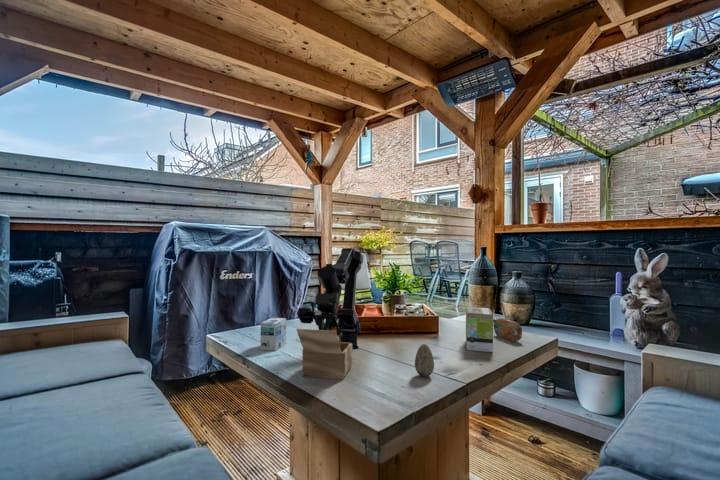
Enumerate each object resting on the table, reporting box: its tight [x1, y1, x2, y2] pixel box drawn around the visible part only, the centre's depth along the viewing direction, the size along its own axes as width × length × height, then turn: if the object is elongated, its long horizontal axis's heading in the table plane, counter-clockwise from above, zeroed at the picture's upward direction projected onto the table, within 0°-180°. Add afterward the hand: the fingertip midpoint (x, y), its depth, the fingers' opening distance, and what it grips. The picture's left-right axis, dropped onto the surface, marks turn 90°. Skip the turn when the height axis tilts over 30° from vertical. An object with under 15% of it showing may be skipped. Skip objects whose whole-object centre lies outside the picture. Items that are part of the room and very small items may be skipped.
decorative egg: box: [414, 343, 435, 378], centre depth 108 cm, size 6×6×10 cm
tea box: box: [465, 306, 494, 353], centre depth 141 cm, size 15×10×15 cm, turn 164°
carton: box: [301, 342, 353, 380], centre depth 113 cm, size 12×14×8 cm
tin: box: [493, 318, 523, 343], centre depth 151 cm, size 15×3×8 cm, turn 17°
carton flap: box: [296, 328, 341, 354], centre depth 104 cm, size 10×12×1 cm
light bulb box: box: [260, 317, 287, 352], centre depth 141 cm, size 11×7×11 cm, turn 168°
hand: (321, 339), depth 106 cm, fingers closed
